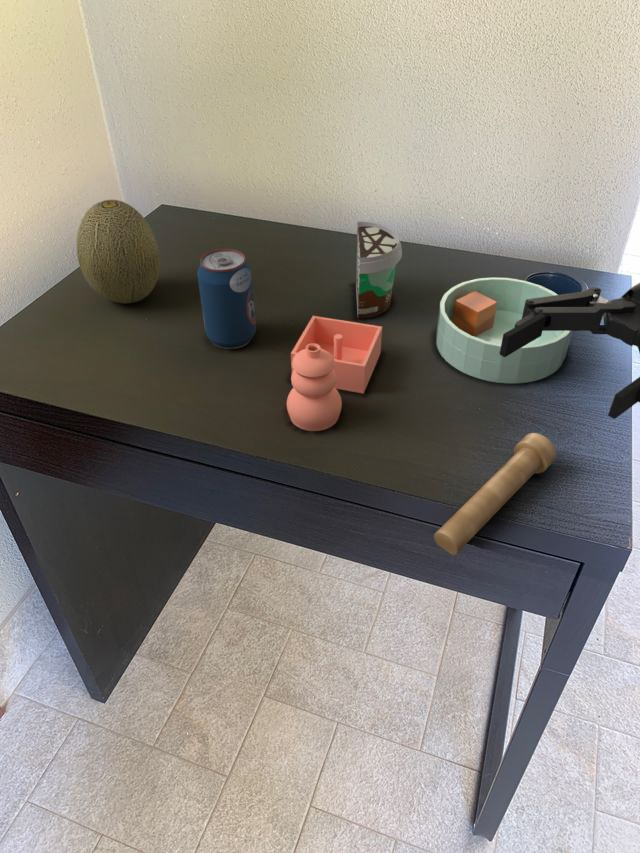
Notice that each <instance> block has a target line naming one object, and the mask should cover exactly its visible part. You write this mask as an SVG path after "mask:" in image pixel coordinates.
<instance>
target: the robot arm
mask: <svg viewBox="0 0 640 853" xmlns="http://www.w3.org/2000/svg"><path fill="white" fill-rule="evenodd" d="M601 293H602V289H601V288H599V287H596V286H593V287H590V288H587V289H585V290H583V291H577V292H570V293H562V294H558V295H554V296H547V297H539V298H532V299H527V300H526V301H525V305H524V310H523V315H522V319H521V320H519V321H517V322H516V323H515V327H514V328H513V329H511V330H510V331H508V332H506V333H504V334H503V339H502V344H501V349H500V354H499V355H501V356H503V357H506V356H508V355H510V354H511V353H513V352H515V351H516V350H518V349H520V348H522V347H523V346H525V345H527V344H528V343H530V342H532V341H533V340H535V339H537V338H539V337H540V336H541V335H542V331H573V332H575V331H576V332H583V331H584V332H591V334H592V335H607V336H610V337H612V338H614V339H617V340H619V341H621V342H623V343H625V344H626V345H628V346H630V347H633V346H635V347H637V350H638V352H639V354H640V282H639V283H637V284H635V285H633V286H632V287H630V288H629V289H627V291H625V293H624V294H622V296H620V297H619V298H613V299H606V298H605V297H603V296H601ZM602 320H603V324H601V323H602ZM637 403H640V376H638V377H637V378H635V379H634V380H633V381H631V382H630V383H629V384H627V385H626V386H624V387H623V388H622V389H620V390H619V391H618V392H616V393H615V394H614V396H613V400H612V402H611V405H610V409H609V410H608V414H607V416H608V417H610V418H611V419H613V420H616V419H617V418H618V417H620V416H621V415H622V414H624V413H626V411H628V410H630V409H631V408H632V407H633V406H635V405H636V404H637Z"/></svg>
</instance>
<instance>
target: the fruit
mask: <svg viewBox="0 0 640 853" xmlns="http://www.w3.org/2000/svg"><path fill="white" fill-rule="evenodd" d="M156 239H157V238H156V237H155V234H154V231H153V230H152V228H151V226H150V224H149V223H148V221H147V219H145V217H144V216H143V214H141V213H140V212H139V211H138V210H137V209H136V208H134V207H133V206H131V205H130V204H129V203H126V202H125V201H122V200H119V199H105V200H102V201H99V202H97V203H95V204H92V206H91V207H89V208H88V210H86V212H85V213H84V215H83V216H82V218H81V220H80V224H79V226H78V230H77V234H76V256H77V261H78V265H79V268H80V271H81V273H82V275H83V278H84V279H85V280H86V282H87V283H88V285H89V286H90V287H91V289H92V290H94V292H96V293H97V294H98V295H99V296H100V297H102V298H104V299H106V300H109V301H111V302H114V303H118V304H133V303H139V302H140V301H142V300H144V299H145V298H146V297H148V296H149V295H150V294H151V293H152V291H153V290H154V288H155V286H156V283H157V282H158V279H159V275H160V273H161V272H160V271H161V254H160V249H159V245H158V242H157V240H156Z"/></svg>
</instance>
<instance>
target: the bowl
mask: <svg viewBox="0 0 640 853" xmlns="http://www.w3.org/2000/svg"><path fill="white" fill-rule="evenodd" d="M473 291H477V292H479V293H481V294H482V295H484V296H486V297H488V298H490V299H492V300H494V301H496V302H497V308H496V313H495V318H494V324H493V327H492V328H490V329H488V330H486V331H484V332H483V333H481V334H479V335H477V336H475V337H474V336H471V335H469V334H468V333H466V332H464V331H462V330H460V329H459V328H458V327H457V326H455V325H454V324H453V316H454V309H455V302H456V300H457V299H459V298H461V297H463V296H465V295H467V294H469V293H471V292H473ZM554 295H559V294H557V293H556V292H555V291H553V290H551V289H549V288H546V287H545V286H543V285H540V284H536V283H535V282H534V283H533V282H530V281H527V280H523V279H517V278H511V277H495V276H493V277H481V278H475V279H471V280H466V281H462V282H461V283H458V284H456V285H455V286H454V285H453V286H452V287H451V288H450V289H449V290H447V291H446V292H445V293H444V294H443V296H442V298H441V300H440V301H439V308H438V317H437V323H436V324H437V325H436V331H435V332H436V333H435V335H436V337H435V344H436V348H437V350H438V352H439V354H440V356H441V357H442V358H443V359H444V361H445V362H447V364H449V365H450V366H452V367H453V368H454V369H456V370H458V371H459V372H461V373H463V374H465V375H467V376H470V377H473V378H476V379H479V380H483V381H486V382H491V383H497V384H526V383H532V382H536V381H540V380H543V379H545V378H548V377H549V376H551V375H553V374H554V373H555V372H557V371H558V370H559V369H560V368H561V367H562V366H563V364H564V361H565V359H566V356H567V353H568V350H569V345H570V342H571V338H572V336H573V332H574V331H542V335H541V336H540V337H539V338H537V339H535V340H533V341H532V342H530V343H528V344H527V345H525V346H523V347H522V348H520V349H518V350H516V351H515V352H513V353H511V354H510V355H508V356H506V357H503V356H501V355H499V354H500V349H501V344H502V339H503V334H504V333H506V332H508V331H510V330H511V329H513V328H514V327H515V323H516V322H517V321H519V320H521V319H522V315H523V310H524V305H525V301H526V300H527V299H532V298H539V297H547V296H554Z"/></svg>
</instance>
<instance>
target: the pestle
mask: <svg viewBox="0 0 640 853" xmlns="http://www.w3.org/2000/svg"><path fill="white" fill-rule="evenodd" d="M556 459H557V449H556V446H555V444H553V442H552V441H551V440H550V439H549V438H548V437H546V436H544V435H542V434H541V433H538V432H530V433H527V434H526V435H525V436H524V437H523V438H521V440H520V441H519V442H518V443H517V444H516V445H515V446H514V449H513V456H511V457H510V459H509V460H508V461H506V463H504V465H503V466H501V467H500V468H499V470H497V472H495V473H494V475H493V476H491V477H490V478H489V480H487V481H486V482H485V483H484V484H483V485H482V486H481V487H480V489H478V490H477V491H476V492H475V493H474V494H473V495H472V496H471V497H470V498H469V499H468V500H467V501H466V502H465V503H464V504H463V505H462V506H461V507H460V508H459V509H458V510H457V511H456V512H455V513H454V514H453V515H452V516H451V517H450V518H449V519H448V520H446V522H445V523H444V524H443V525H441V527H440V528H439V529H438V530H437V531H435V533H434V535H433V539H434V541H435V543H436V545H437V546H438V547H440V548H441V549H443V550H444V551H446V552H447V553H449V554H450V555H452V556H455V555H457V554H459V552H461V550H462V549H464V547H466V545H467V544H468V543H469V542H470V541H471V540H472V539H473V538H474V537H475V535H477V533H478V532H480V530H482V528H483V527H484V526H485V525H486V524H487V523H488V522H489V521H490V520H491V519H492V518H493V517H494V516H495V515H496V514H497V513H498V512H499V511H500V510H501V509H502V508H503V507H504V505H506V503H507V502H508V501H509V500H510V499H511V498H512V497H513V496H515V494H516V493H517V492H518V491H519V490H520V489H521V488H522V487H523V485H525V484H526V483H527V481H528V480H530V479H531V477H533V476H534V474H542V473H544V472H545V471H546V470H547V469H548V468H549V467H550V466H551V465H552V464H553V463H554V462H555V461H556Z"/></svg>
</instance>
